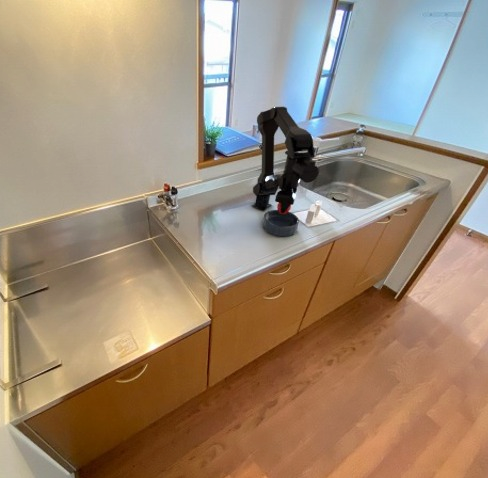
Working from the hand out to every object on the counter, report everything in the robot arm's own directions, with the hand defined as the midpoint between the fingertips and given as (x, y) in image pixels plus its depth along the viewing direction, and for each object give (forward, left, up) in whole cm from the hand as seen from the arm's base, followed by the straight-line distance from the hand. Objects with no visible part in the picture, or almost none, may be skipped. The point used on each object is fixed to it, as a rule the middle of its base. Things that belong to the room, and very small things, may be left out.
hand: (283, 209), depth 104 cm
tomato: (0, 0, -1) cm, 1 cm away
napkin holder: (-18, +6, -8) cm, 21 cm away
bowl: (0, 0, -8) cm, 8 cm away
